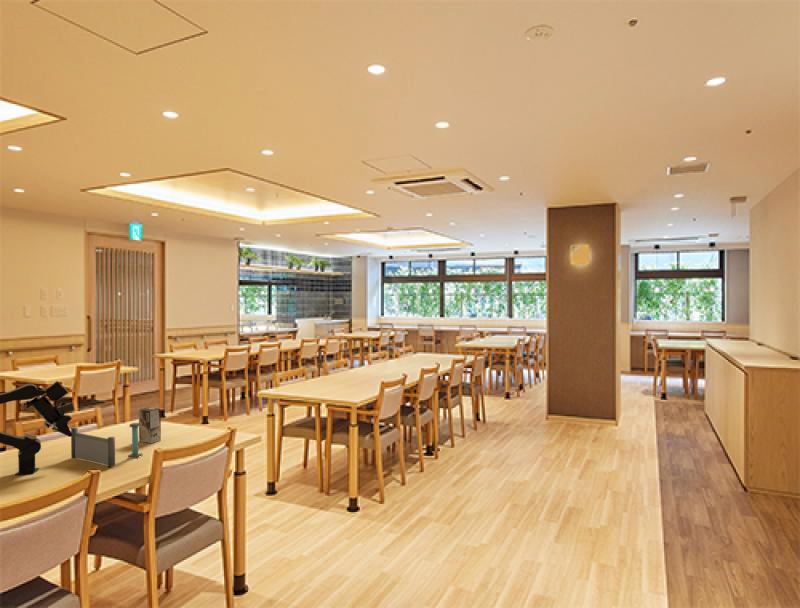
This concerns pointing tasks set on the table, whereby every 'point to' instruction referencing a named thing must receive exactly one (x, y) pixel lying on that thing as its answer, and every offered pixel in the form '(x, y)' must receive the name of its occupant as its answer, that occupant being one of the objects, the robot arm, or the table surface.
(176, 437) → the table surface
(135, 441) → the post
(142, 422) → the coffee box
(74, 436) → the gate
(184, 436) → the table surface
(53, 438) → the table surface
